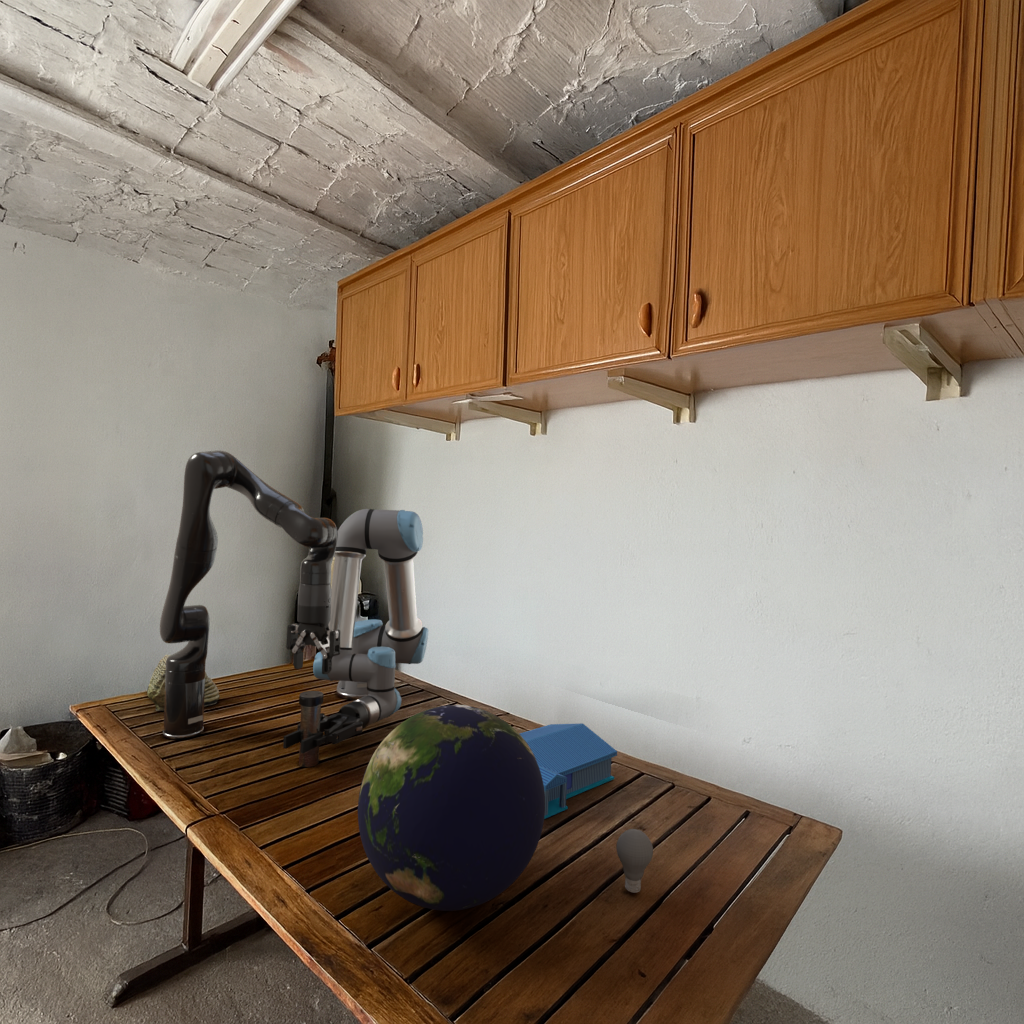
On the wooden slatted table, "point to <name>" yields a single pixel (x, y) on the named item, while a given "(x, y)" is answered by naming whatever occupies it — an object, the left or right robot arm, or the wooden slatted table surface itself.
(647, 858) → the light bulb
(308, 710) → the jar
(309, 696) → the lid
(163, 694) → the fossil
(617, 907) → the wooden slatted table surface
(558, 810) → the model building
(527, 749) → the globe
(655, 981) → the wooden slatted table surface
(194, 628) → the left robot arm
